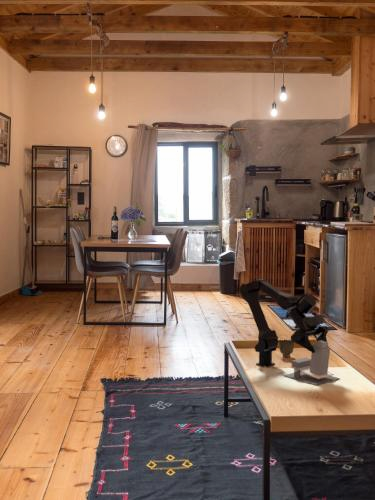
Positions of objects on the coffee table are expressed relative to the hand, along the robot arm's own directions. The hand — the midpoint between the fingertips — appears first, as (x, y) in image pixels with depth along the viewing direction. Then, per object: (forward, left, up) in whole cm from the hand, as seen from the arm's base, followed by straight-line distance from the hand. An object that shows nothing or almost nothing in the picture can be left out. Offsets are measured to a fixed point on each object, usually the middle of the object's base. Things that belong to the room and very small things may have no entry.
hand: (321, 351), depth 216 cm
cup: (-28, -29, -12) cm, 42 cm away
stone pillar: (0, -1, -9) cm, 9 cm away
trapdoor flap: (-1, -5, -9) cm, 10 cm away
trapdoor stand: (-1, -5, -12) cm, 13 cm away
